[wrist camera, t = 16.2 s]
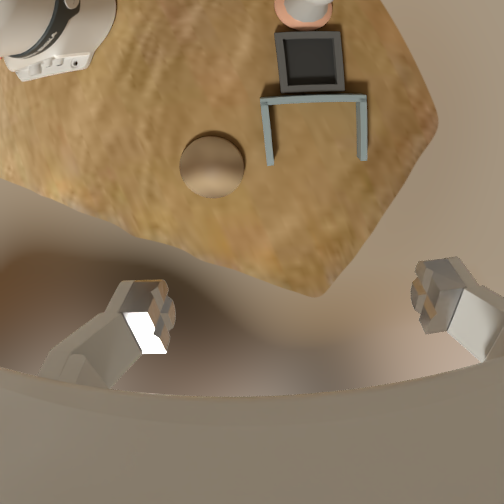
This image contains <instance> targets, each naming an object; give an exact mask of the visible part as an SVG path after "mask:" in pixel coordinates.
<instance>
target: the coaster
mask: <svg viewBox="0 0 504 504" xmlns="http://www.w3.org/2000/svg"><path fill="white" fill-rule="evenodd" d="M274 7H275V12H276V14H277V16H278V18H279V19H280V20H281V21H282V22H283V23H284V24H285V25H286V26H288V27H290V28H292V29H295V30H298V31H312V30H316V29H318V28H320V27H322V26H323V25H325V24H326V23H327V22H328V20H329V19H330V17H331V14H332V4H331V3H329V4H328V10H327V13H326V14H325V15H324V16H323V18H322V19H319V20H317V21H315V22H301V21H299V20H296V19H294V18H293V17H292V16H291V15H289V14H288V13H287V10H286V8H285V5H284V0H275V3H274Z"/></svg>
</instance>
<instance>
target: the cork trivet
mask: <svg viewBox="0 0 504 504" xmlns="http://www.w3.org/2000/svg"><path fill="white" fill-rule="evenodd" d="M180 173H181V176H182V179H183V181H184V183H185V184H186V185H187V187H188V188H189V189H190V190H192V191H193V192H194V193H196V194H198V195H200V196H203V197H206V198H220V197H224V196H226V195H228V194H230V193H232V192H233V191H234V190H235V189H236V188H237V187H238V186H239V184H240V182H241V180H242V177H243V174H244V160H243V157H242V155H241V153H240V151H239V150H238V148H237V147H236V146H235V145H234V144H233V143H231V142H230V141H228V140H226V139H224V138H222V137H218V136H206V137H202V138H199V139H197V140H195V141H193V142H192V143H191V144H190V145H189V146H188V147H187V148H186V149H185V150H184V152H183V154H182V156H181V159H180Z"/></svg>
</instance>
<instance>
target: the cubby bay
mask: <svg viewBox="0 0 504 504" xmlns="http://www.w3.org/2000/svg"><path fill="white" fill-rule="evenodd" d="M309 102H356V115H357V157H358V158H359V159H360V160H361V161H367V96H366V95H365V94H349V93H339V94H302V95H284V96H271V97H260V103H261V112H262V121H263V130H264V140H265V149H266V159H267V166H270V165H274V158H273V148H272V138H271V128H270V118H269V109H268V105H275V104H290V103H309Z"/></svg>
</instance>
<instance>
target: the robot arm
mask: <svg viewBox="0 0 504 504" xmlns="http://www.w3.org/2000/svg"><path fill="white" fill-rule="evenodd" d="M115 13H116V2H115V0H0V59H2V57H4V61H5V64H6V66H7V67H8V69H9V70H10V71H12V72H16V74H17V76H18V77H19V79H20V80H21V81H29V80H33V79H38V78H42V77H46V76H51V75H56V74H60V73H66V72H71V71H77V70H83V69H86V68H87V67H88V66H89V64H90V62H91V60H92V57H93V54H94V52H95V50H96V49H97V47H98V46H99V45H100V44H101V43H102V41H103V40H104V39H105V37H106V36H107V34H108V33H109V31H110V29H111V27H112V24H113V22H114V18H115ZM76 61H77V62H78V64H77V65H76ZM415 273H416V275H417V276H418V277H417V278H416V279H415V280H414V281H413V282H412V287H411V301H412V305H413V307H414V309H415V311H417V312H418V313H420V314H421V315H420V318H419V321H420V323H421V325H422V327H423V330H424V332H425V334H431V333H437V332H444V331H447V333H449V334H450V335H451V336H452V337H453V338H454V339H456V340H457V341H458V342H459V343H460V344H461V345H462V346H463V347H464V348H466V349H467V350H468V351H469V352H470V353H471V354H472V355H473V356H475V358H477V359H478V360H479V361H480V362H481V363H479V364H476V365H472V366H468V367H464V368H460V369H456V370H452V371H448V372H444V373H440V374H436V375H431V376H427V377H422V378H417V379H412V380H407V381H402V382H396V383H391V384H384V385H378V386H371V387H365V388H358V389H350V390H341V391H333V392H322V393H311V394H297V395H282V396H253V397H209V396H181V395H165V394H152V393H141V392H131V391H122V390H114V389H110V388H111V387H112V386H113V385H114V384H115V383H116V382H117V381H118V380H119V379H120V377H122V375H123V374H124V373H125V372H126V371H127V370H128V369H129V368H130V367H131V366H132V365H133V364H134V363H135V362H136V360H138V358H139V357H140V356H141V355H142V354H143V353H166V351H167V347H168V344H169V341H170V335H169V333H168V332H169V331H170V330H171V329H172V328H173V327H174V323H175V307H174V303H173V300H172V299H171V298H169V297H168V296H167V293H168V290H169V289H168V286H167V284H166V281H164V280H136V281H135V280H132V281H122V282H121V283H120V284H119V286H118V287H117V289H116V291H115V293H114V295H113V297H112V299H111V300H110V302H109V304H108V306H107V308H106V310H105V312H104V313H100V314H98V315H97V316H95V317H94V318H93V319H91V320H90V321H89V322H87V323H86V324H84V325H83V326H82V327H80V328H79V329H78V330H76V331H75V332H74V333H72V334H71V335H70V336H68V337H67V338H66V339H64V340H63V341H62V342H61V343H59V344H58V345H56V346H55V347H54V348H52V349H51V350H50V352H49V354H48V355H47V357H46V359H45V361H44V363H43V365H42V367H41V369H40V371H39V373H38V375H37V376H34V375H30V374H25V373H21V372H17V371H13V370H10V369H6V368H2V367H0V504H504V297H502V296H501V295H499V294H497V293H496V292H494V291H492V290H490V289H489V288H487V287H485V286H483V285H482V286H480V285H479V284H478V283H477V281H476V280H475V278H474V277H473V276H472V274H471V273H470V271H469V270H468V269H467V267H466V266H465V265H464V263H463V262H462V261H461V259H460V258H458V257H449V258H444V259H436V260H426V261H419V262H418V263H417V265H416V269H415Z"/></svg>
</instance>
